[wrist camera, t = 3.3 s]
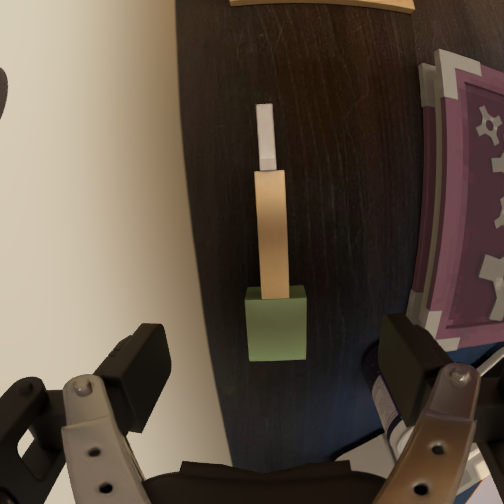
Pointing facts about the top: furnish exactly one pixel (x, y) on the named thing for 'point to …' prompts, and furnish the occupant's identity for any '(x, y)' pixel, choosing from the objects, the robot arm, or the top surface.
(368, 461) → the alarm clock
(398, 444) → the beverage can
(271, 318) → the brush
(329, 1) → the rack
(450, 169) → the book
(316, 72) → the top surface
